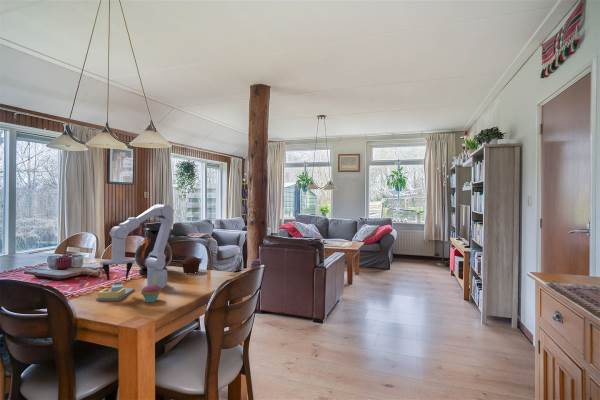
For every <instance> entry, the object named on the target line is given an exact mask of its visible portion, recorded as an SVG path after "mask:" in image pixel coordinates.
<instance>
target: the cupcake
mask: <svg viewBox="0 0 600 400" xmlns="http://www.w3.org/2000/svg"><path fill="white" fill-rule="evenodd" d="M156 275H157V274H156ZM156 277H157V276H155V279H154V285H149V286H147V287H145V286H144V287H143V288H142V289H141V291H140V294H141V295H142V296H143V297H144V301H145V302H147V303H154V302H157V301H158V297H159V295H160V294H161V293H162V288H160V286H157V285H155V282H156Z"/></svg>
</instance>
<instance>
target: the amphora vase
mask: <svg viewBox="0 0 600 400" xmlns="http://www.w3.org/2000/svg"><path fill="white" fill-rule="evenodd" d="M159 229H160V227H158V226H156V227H153V226H152V227H151V226H149V227H144V228H143V231H144V232H146V237H145V238H144V239H143V240H142V241H141V242H140V243H139V244H138V246H137V248H136V249H135V254H134V259H135V265H137V267H139V269H138V273H140V274H141V275H144V274H146V275H147V273H148V269H147V267H146V265H145V260H146V259H147V258H148V256H149V253H151V252H152V251H153V249H154V246H155V242H156V239H157V236H158V233H159ZM164 254H165V256H166V258H165V266H164V268H163V270H167V271H168V268H167V267H168V265H170V264H171V262H172V260H173V251H172V248H171V245H170V244H169V242H168V241H167V243H166V247H165V250H164Z"/></svg>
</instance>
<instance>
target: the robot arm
mask: <svg viewBox="0 0 600 400" xmlns="http://www.w3.org/2000/svg"><path fill="white" fill-rule="evenodd" d="M173 214H174V208H173V207H172V206H171V205H170V204H160V203H156V204H154V205H153V206H150V207H149V208H148V209H146V210H145V211H144V212H143V213H141V214H139V215H138V216H137V217H128V218H127V220H126V221H125V220H124V222H121V223H119V224H118V225H117V226H116V225H115V226H113V227H112V228H111V229H110V231H109V232H108V233H109V236H110V237H111V251H110V252H111V257H110V258H111V259H107V260H100V261H99V265H100V266H101V267H102V269H103V270H104V273H105V275H106V278H107V279H106V280H107V281H110V266H113V265H126V273H125V280H128V277H129V273H130V271H131V270H132V267H133V264H134V265H136V262H135V258H126V238H127V237H128V236H129V234H131V232H133V231H135V230H136V229H138V228H140V225H141V223H144V222H145V221H147V220H148V219H150V218H152V217H154V216H155V217H157V218H158V219H159V221H160V222H161V223H160V229H159V233H158V236H157V239H156V242H155V246H154V249H153V251H152V252H151V253H149V256H148V258H147V259H146V260H145V265H146V267H147V269H148V273H147V279H146V281H147V282H146V285H145V286H144V287H147V286H149V285H154V279H155V276H157V277H156V282H155V285H157V286H160V288H161V289H163V288H165V287H166V286H168V269H167V270H163V268H164V266H165V258H166V256H165V254H164V250H165V247H166V243H167V242H168V240H169V236H170V234H171V229H172V226H173V223H174V217H173V216H174V215H173ZM156 274H157V275H156Z"/></svg>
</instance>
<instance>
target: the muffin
mask: <svg viewBox="0 0 600 400" xmlns="http://www.w3.org/2000/svg"><path fill="white" fill-rule="evenodd" d="M181 264H182V271H183V274H185V273H195V272H199V269H200V264H201V260H200V259H199V258H198V257H196V256H193V255H191V256H190V255H189V256H187V257H185V258H184V259H183V260H182V262H181ZM195 274H196V273H195Z"/></svg>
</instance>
